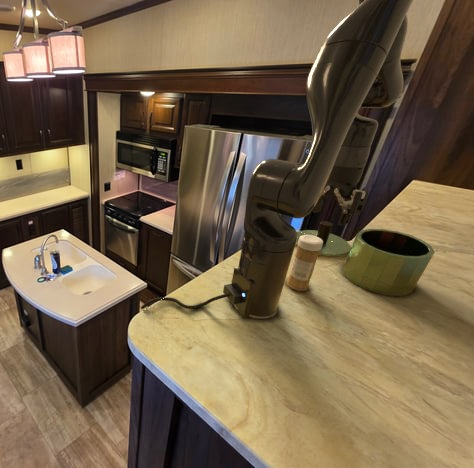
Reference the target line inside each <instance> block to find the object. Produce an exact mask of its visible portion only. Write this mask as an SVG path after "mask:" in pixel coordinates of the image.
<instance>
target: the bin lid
mask: <svg viewBox="0 0 474 468" xmlns="http://www.w3.org/2000/svg"><path fill="white" fill-rule="evenodd" d="M333 226H334V223H332V222H330V221H327V220H322V221H320V222H319V225H318V229H317V230H316V229H315V230H314V229H305V230H299V231H296V232H297V241H296V245H295V246H297V247H298V241H299V238H300V236H302V235H313V236H316V237H319V238H320V239H322V240H323V245H322V248H321V250H320V251H319V254H318V256H319V255H320V256H324V257H325V256H326V257H339V256H340V257H341V256H344V255H347V254H349V252H350V250H351V245H350V243H349V242H348V241H347V240H346V239H344V238H342V237H340V236H338V235H336V234H333V233H331V232H332V229H333ZM301 232H302V233H301ZM304 233H305V234H304ZM331 241H333V242H331Z"/></svg>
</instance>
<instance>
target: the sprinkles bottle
mask: <svg viewBox="0 0 474 468" xmlns="http://www.w3.org/2000/svg"><path fill="white" fill-rule="evenodd" d="M322 245H323V240H322V239H320V238H319V237H316V236H313V235H302V236H300V238H299V241H298V246H297V248H296V250H295V251H296V252H295V254H294V257H293V261H292V264H291V267H290V271H289V276H288V278H287V281H286V284H287V286H288V287H289V288H290V289H292V290H294V291H298V292H305V291H307V290H308V289H309V284H310V281H311V279H312V276H313V273H314V270H315V266H316V264H317V260H318V257H319V251H320V250H321V248H322Z"/></svg>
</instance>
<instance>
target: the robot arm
mask: <svg viewBox="0 0 474 468" xmlns="http://www.w3.org/2000/svg"><path fill="white" fill-rule="evenodd" d="M413 2H414V0H358V6H356V7H355V8H354V9H353V10H352V11H351V12H350V13H349V14H348V15H346V16H345V18H344V19H342V20H341V21H340V22H339V23H338V24H337V25H336V26H335V27H334V28H333V29H332V30H331V32H330V33H329V34H328V35H327V37H326V38H325V39H324V41H323V42H322V44H321V46H320V48H319V50H318V53H317V55H316V58H315V59H314V61H313V64H312V66H311V69H310V71H309V73H308V75H307V78H306V81H305V97H306V104H307V108H308V109H307V110H308V112H309V116H310V122H311V129H312V139H311V144H310V148H309V152H308V154H307V157H306V160H305V162H304V163H301V162H295V161H289V160H283V159H277V158H267V159H264V160H262V161H261V162H260V163H258V165H257V166H256V167H255V168H254V170H253V172H252V174H251V176H250V178H249V179H250V180H249V182H248V187H247V194H246V199H245V200H246V201H245V208H244V209H245V211H244V217H243V228H244V229H243V230H244V235H243V239H242V244H241V245H242V246H241V252H240V256H239V262H238V266H235V267H234V268H233V272H232V278H231V283H227V284H224V285H223V291H222V293H223V294H219V295H217V296H214V297H212V298H209V299H207V300H206V301H204V302H201V303H197V304H193V305H188V304H184V303H182V302H181V301H180V300H178V299H177V298H174V297H168V296H166V298H165V296H164V297H163V296H162V297H156V298H153V299H150V300H148V301H147V302H145V303H144V304H143V305H141V306H140V309H142V310H143V309H145V308H146V307H148V306H149V305H151V304H154V303H155V302H163V301H165V302H166V301H167V302H173V303H176V304H177V305H179V306H180V307H182V308H184V309H186V310H187V309H188V310H195V309H199V308H201V307H204V306H206V305H209V304H210V303H212V302H215V301H218V300H221V299H225V298H227V300H228V301H229V303H230V304H231V305H232V306H233V307H234V308H235V310H236V311H237V312H238V313H239V314H240V316H242V317H243V318H251V319H256V320H268V319H270V318H274V316H276V314H277V313H278V307H279V303H280V300H281V296H282V293H283V289H284V285H285V283H286V279H287V275H288V271H289V269H290V264H291V261H292V258H293V254H294V251H295V247H296V246H297V245H296V241H297V232H298V231H297V230H296V228H295V227H294V226H293V225H292V224H291V223H289V222H288V221H287V220H285V219H284V218H283V216H286V217H290V218H292V219H298V220H299V219H303V218H305V217H308V215H310V214H311V212H312V213H314V214H317V213H320V212H321V211H322V207H323V205H324V202H325V200H324V199H326V198H329V199H333V200H334V201H336V202H337V204H338V205H339V206H340V207H341V210H342V212H341V213H340V216H339V219H338V222H337V225H338V226H346V225H348V224H349V223H350V220H351V218H352V215H355V214H361V213H363V210H364V208H365V205H366V201H367V199H368V195H369V191H368V190H366V189H365V190H360V189H357V185H358V183H359V182H360V181H361V178H362V175H363V172H364V170H365V167H366V165H367V162H368V159H369V156H370V153H371V148H372V144H373V141H374V139H375V136H376V133H377V131H378V128H379V122H378V120H376V119H374V118H370V117H366V116H362V115H360V114H359V111H360V109H364V108H365V109H367V108H368V109H384V108H387V107H390V106H391V105H393V104H394V103H396V102H397V101H398V100H399V98H400V97H401V95H402V93H403V90H404V85H405V84H404V83H405V82H404V74H403V70H402V62H401V61H402V60H401V56H402V51H403V48H404V44H405V41H406V37H407V36H406V35H407V32H408V24H409V21H408V15H407V13H408V11H409V9H410V8H411V6H412V3H413ZM282 215H283V216H282ZM163 298H164V299H163ZM161 299H162V300H161Z"/></svg>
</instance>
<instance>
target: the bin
mask: <svg viewBox="0 0 474 468" xmlns="http://www.w3.org/2000/svg"><path fill="white" fill-rule="evenodd" d="M354 237H355V238H354V240H353V243H352V245H351V246H350V251H349V252H348V255H347V257H346V261H345V262H344V265H343V269H342V272H343V275H344V276H345V277H346V278H347V279H348V281H350V282H351V283H353V284H355V285H356V286H358V287H360V288H362V289H363V290H367V291H369V292H372V293H374V294H375V293H376V294H380V295H384V296H389V297H390V296H391V297H403V296H408V295H410V294H411V293H412V292H413V290H415V288H416V287H417V285H418V283H419V281H420V279H421V277H422V275H423V274H424V272H425V271H426V268H427V267H428V265H429V263H430V261H431V260H432V258H433V256H434V254H435V253H436V251H435V250H434V248H433V246H431V245H430V244H429V243H428V242H426V241H425V240H423V239H420V238H418V237H416V236H414V235H410V234H408V233H404V232H400V231H396V230H390V229H383V228H367V229H361V230H359V232H358V233H356V234H355V236H354Z"/></svg>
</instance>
